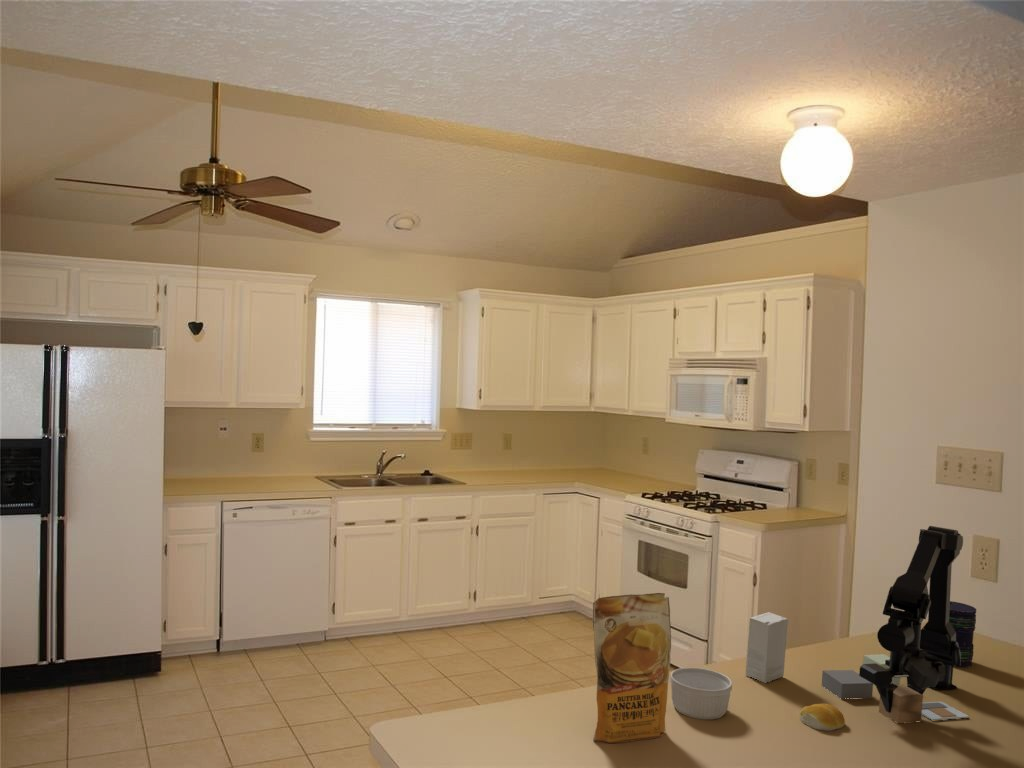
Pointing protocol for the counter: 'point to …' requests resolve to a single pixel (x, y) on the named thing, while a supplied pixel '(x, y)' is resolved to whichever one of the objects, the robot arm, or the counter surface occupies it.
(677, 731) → the counter surface
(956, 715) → the card
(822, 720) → the bread roll
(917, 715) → the walnut cube
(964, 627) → the storage jar
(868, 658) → the sage cube
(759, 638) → the skincare box
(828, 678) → the charcoal block
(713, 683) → the ramekin
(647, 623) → the pancake mix bag
